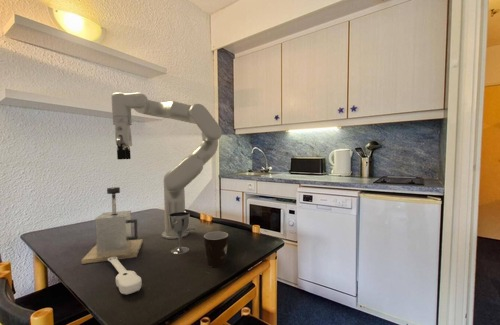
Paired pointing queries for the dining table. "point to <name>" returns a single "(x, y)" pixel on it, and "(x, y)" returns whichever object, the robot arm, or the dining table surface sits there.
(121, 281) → the white toy guitar
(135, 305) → the dining table surface
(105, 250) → the press
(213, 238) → the coffee mug
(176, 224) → the wine glass
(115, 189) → the plunger
